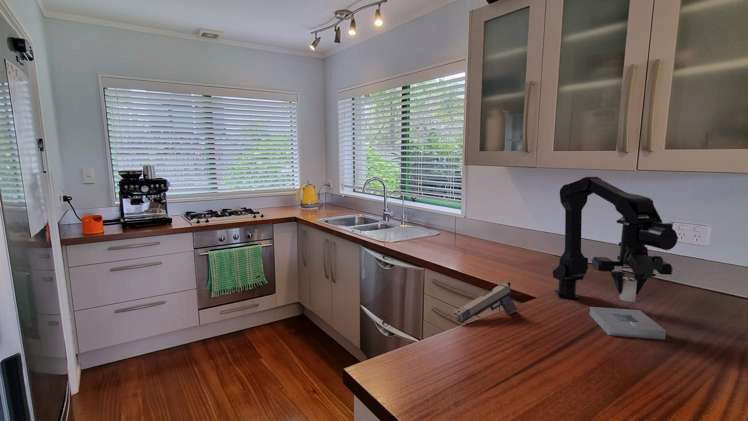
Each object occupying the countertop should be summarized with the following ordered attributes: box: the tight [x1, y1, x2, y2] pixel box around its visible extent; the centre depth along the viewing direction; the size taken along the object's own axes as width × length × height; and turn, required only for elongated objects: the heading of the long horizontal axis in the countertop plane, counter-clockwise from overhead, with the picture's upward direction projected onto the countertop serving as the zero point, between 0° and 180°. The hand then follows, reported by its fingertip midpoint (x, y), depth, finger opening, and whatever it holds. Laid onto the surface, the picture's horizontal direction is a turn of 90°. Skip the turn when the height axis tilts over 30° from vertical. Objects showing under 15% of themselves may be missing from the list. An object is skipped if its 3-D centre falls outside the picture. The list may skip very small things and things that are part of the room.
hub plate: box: [589, 306, 667, 340], centre depth 110 cm, size 14×14×3 cm
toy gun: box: [454, 281, 518, 324], centre depth 116 cm, size 2×21×10 cm, turn 111°
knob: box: [619, 276, 637, 303], centre depth 108 cm, size 4×4×6 cm
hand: (627, 294), depth 109 cm, fingers closed on knob, 4 cm apart
